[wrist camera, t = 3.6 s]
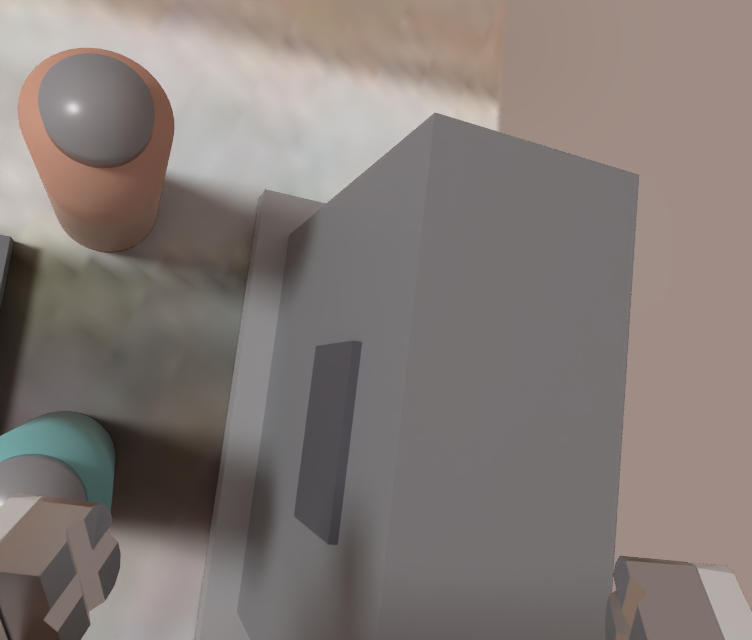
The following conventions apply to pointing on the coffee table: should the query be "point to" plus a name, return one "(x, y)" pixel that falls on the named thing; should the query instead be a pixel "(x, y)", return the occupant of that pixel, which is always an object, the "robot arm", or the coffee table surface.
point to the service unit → (429, 401)
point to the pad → (4, 261)
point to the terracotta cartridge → (98, 144)
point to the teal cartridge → (58, 459)
